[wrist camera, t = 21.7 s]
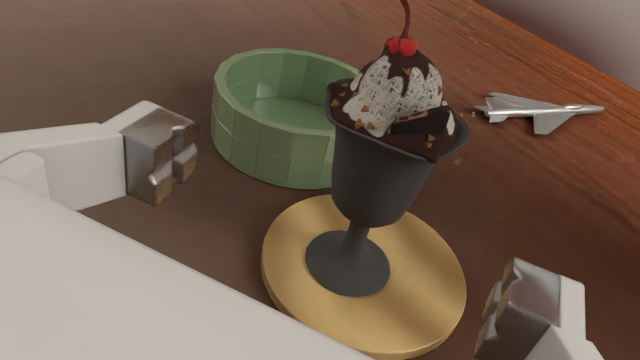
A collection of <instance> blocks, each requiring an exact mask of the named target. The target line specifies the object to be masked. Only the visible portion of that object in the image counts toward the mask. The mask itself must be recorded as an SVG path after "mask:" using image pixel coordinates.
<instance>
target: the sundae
mask: <svg viewBox="0 0 640 360" xmlns="http://www.w3.org/2000/svg"><path fill="white" fill-rule="evenodd" d="M400 1H401V3H402V5H403V7H404V9H405V14H406V22H405V27H404V30H403V33H402V35H401V36H397V37H392V38H390V39H388V40H387V41H386V43H385V44H384V50H383V53H382V54H381V56H380V57H379V58H377V59H375V60H373V61H370V62H369V63H368V64H367V65H365V66H364V67H363V68H362V69H361V71H360V72H359V73H358V74H357V76H356V77H355V78H345V79H339V80H337V81H335V82H332V83H330V84H328V86H327V88H326V96H325V102H324V108H325V113H326V117H327V118H328V120H329V121H330V122H331V123H332V124H334V125H335V126H336V127H335V145H334V155H333V164H332V174H331V196H332V200H333V202H334V204H335V205H336V207H337V208H338V210H339V211H340V212H341V213H342V215H343V216H344V217H346V218H347V219H348V220H350V223H349V227H348V230H347V231H343V230H335V231H328V232H325V233H323V234H320V235H319V236H317V237H315V238H314V239H313V240H312V241H311V242H310V243H309V245H308V247H307V248H306V253H305V262H306V265H307V268H308V270H309V271H310V273H311V275H312V276H313V277H314V278H315V279H316V280H317V281H318V282H319V283H320V284H321V285H322V286H324V287H326V288H327V289H329V290H331V291H333V292H336V293H338V294H341V295H346V296H354V297H360V296H367V295H371V294H374V293H376V292H377V291H379V290H380V289H382V288H383V287H384V286H385V285H386V283H387V281H388V279H389V277H390V266H389V261H388V259H387V257H386V255H385V253H384V252H383V250H382V249H381V248H380V247H379V246H378V245H377V244H375V243H374V242H373V241H371V240H370V239H368V238H367V235H368V233H369V230H370V228H378V227H383V226H387V225H391V224H393V223H395V222H397V221H398V220H399V219H401V217H402V216H403V215H404V213H405V212H406V211H407V209H408V208H409V207H410V205H411V204H412V203H413V201H414V200H415V199H416V197H417V195H418V193H419V192H420V190H421V188H422V187H423V185H424V183H425V182H426V180H427V178H428V177H429V175H430V173H431V171H432V170H433V168H434V167H435V165H436V163H437V162H438V160H441V159H444V158H446V157H448V156H449V155H451V154H452V153H454V152H455V151H456V150H457V149H459V148H460V147H461V146H462V145H464V144H465V142H466V140H467V139H468V137H469V133H470V130H469V127H468V125H467V124H466V123H465V121H464V120H463V119H461V118H460V117H459V116H458V115H457V114H456V113H455V112H454V111H453V109H452V108H451V107H450V106H449V105H448V104H447V103H446V101H445V100H444V99H443V97H442V92H443V90H444V89H443V88H442V79H441V77H440V75H439V73H438V71H437V69H436V67H435V65H434V64H433V63H432V62H431V60H430V59H428V58H427V57H426V56H425V55H423V54H422V53H421V52H420V51H419V50H418V49H417V46H416V43H415V42H414V41H413V39H411V38H408V31H409V26H410V8H409V5H408V2H407V0H404V1H403V0H400Z"/></svg>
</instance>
